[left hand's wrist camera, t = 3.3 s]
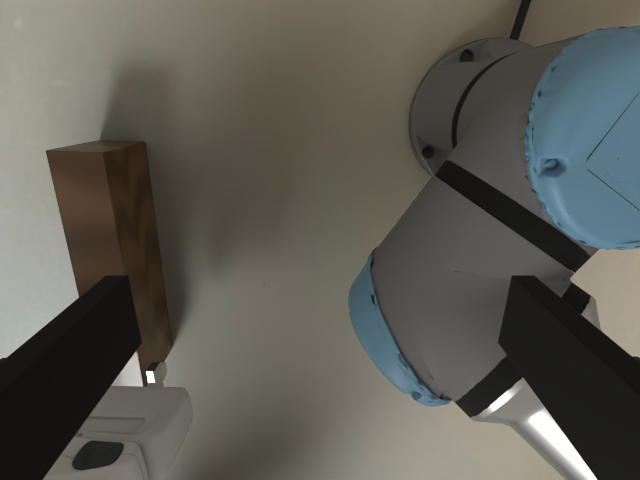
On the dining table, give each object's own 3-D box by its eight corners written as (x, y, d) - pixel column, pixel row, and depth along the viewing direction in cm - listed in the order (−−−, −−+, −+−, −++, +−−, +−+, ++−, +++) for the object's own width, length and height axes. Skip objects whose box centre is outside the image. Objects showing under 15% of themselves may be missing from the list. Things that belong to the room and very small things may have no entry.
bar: (98, 140, 41) (45, 150, 33) (145, 141, 41) (103, 152, 33) (135, 346, 51) (100, 393, 43) (172, 347, 51) (145, 394, 43)
